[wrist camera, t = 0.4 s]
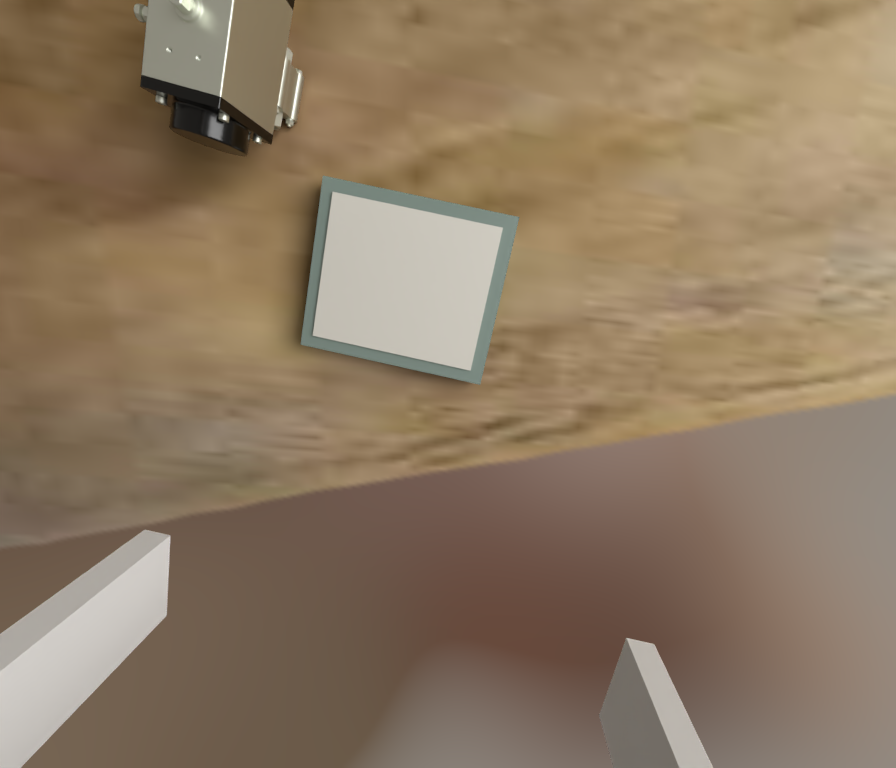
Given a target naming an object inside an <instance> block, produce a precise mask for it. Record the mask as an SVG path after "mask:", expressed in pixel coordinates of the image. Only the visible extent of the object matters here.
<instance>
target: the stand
mask: <svg viewBox="0 0 896 768" xmlns="http://www.w3.org/2000/svg"><path fill="white" fill-rule="evenodd" d="M518 220H519V217H516V216H511V215H507V214H502V213H497V212H492V211H488V210H483V209H478V208H473V207H469V206H464V205H459V204H454V203H450V202H445V201H440V200H435V199H431V198H426V197H421V196H417V195H412V194H407V193H402V192H398V191H393V190H388V189H383V188H379V187H374V186H369V185H364V184H360V183H355V182H350V181H346V180H341V179H336V178H331V177H327V176H323V179H322V187H321V194H320V202H319V209H318V217H317V225H316V232H315V240H314V247H313V255H312V262H311V270H310V277H309V285H308V292H307V300H306V307H305V315H304V322H303V330H302V337H301V345H305V346H309V347H314V348H318V349H323V350H327V351H332V352H336V353H341V354H345V355H350V356H354V357H359V358H363V359H368V360H372V361H376V362H381V363H385V364H390V365H394V366H399V367H403V368H408V369H412V370H417V371H421V372H426V373H430V374H435V375H439V376H444V377H448V378H453V379H457V380H462V381H466V382H471V383H475V384H480V383H481V378H482V374H483V370H484V366H485V361H486V357H487V353H488V348H489V344H490V340H491V336H492V331H493V327H494V323H495V319H496V314H497V310H498V306H499V302H500V297H501V293H502V289H503V284H504V280H505V276H506V272H507V267H508V263H509V259H510V255H511V250H512V246H513V242H514V238H515V233H516V229H517V225H518Z"/></svg>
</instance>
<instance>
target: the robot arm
mask: <svg viewBox="0 0 896 768" xmlns="http://www.w3.org/2000/svg"><path fill="white" fill-rule="evenodd" d="M169 554H170V535H166V534H162V533H157V532H153V531H148V530H144V531H142V532H141V533H140V534H138V535H137V536H135V537H134V538H133V539H131V540H130V541H128V542H127V543H126V544H124V545H123V546H121V547H120V548H119V549H117V550H116V551H114V552H113V553H112V554H110V555H109V556H108V557H106V558H105V559H103V560H102V561H101V562H99V563H98V564H96V565H95V566H94V567H92V568H91V569H90V570H88V571H87V572H85V573H84V574H83V575H81V576H80V577H78V578H77V579H76V580H74V581H73V582H72V583H70V584H69V585H68V586H66V587H65V588H63V589H62V590H60V591H59V592H58V593H56V594H55V595H53V596H52V597H51V598H49V599H48V600H47V601H45V602H44V603H43V604H41V605H40V606H39V607H37V608H36V609H34V610H33V611H31V612H30V613H29V614H27V615H26V616H24V617H23V618H22V619H20V620H19V621H17V622H16V623H15V624H13V625H12V626H11V627H9V628H8V629H7V630H5V631H4V632H2V633H1V634H0V768H21V767H22V766H23V765H24V764H25V763H26V761H27V760H28V759H29V758H30V757H31V756H32V755H33V754H34V753H35V752H36V751H37V750H38V749H39V748H40V747H41V746H42V745H43V744H44V743H45V742H46V740H48V738H50V736H51V735H52V734H53V733H54V732H55V731H56V730H57V729H58V728H59V727H60V726H61V725H62V724H63V723H64V722H65V721H66V720H67V719H68V718H69V717H70V716H71V714H73V713H74V711H75V710H76V709H77V708H78V707H79V706H80V705H81V704H82V703H83V702H84V701H85V700H86V699H87V698H88V697H89V696H90V695H91V694H92V692H94V691H95V690H96V688H97V687H98V686H99V685H100V684H101V683H102V682H103V681H104V680H105V679H106V678H107V677H108V676H109V675H110V674H111V673H112V672H113V671H114V670H115V669H116V667H118V666H119V665H120V664H121V662H122V661H123V660H124V659H125V658H126V657H127V656H128V655H129V654H130V653H131V652H132V651H133V650H134V649H135V648H136V647H137V646H138V645H139V644H140V643H141V642H142V641H143V640H144V638H145V637H146V636H147V635H148V634H149V633H150V632H151V631H152V630H153V629H154V628H155V627H156V626H157V625H158V624H159V623H160V622H161V621H162V620H163V619H164V618H165V617H166V616H167V595H168V575H169ZM599 717H600V721H601V724H602V728H603V731H604V735H605V739H606V743H607V746H608V750H609V754H610V757H611V761H612V765H613V768H713V766H712V764H711V762H710V760H709V758H708V756H707V754H706V752H705V750H704V748H703V746H702V744H701V741H700V739H699V737H698V735H697V733H696V731H695V729H694V727H693V725H692V723H691V721H690V718H689V716H688V714H687V712H686V710H685V708H684V706H683V704H682V702H681V700H680V697H679V695H678V693H677V691H676V689H675V687H674V685H673V683H672V681H671V679H670V677H669V675H668V672H667V671H666V668H665V666H664V664H663V662H662V660H661V658H660V656H659V654H658V652H657V650H656V647H655V645H654V644H651V643H646V642H642V641H638V640H633V639H629V638H626V641H625V643H624V646H623V650H622V653H621V655H620V658H619V660H618V663H617V667H616V669H615V672H614V675H613V678H612V680H611V683H610V686H609V689H608V692H607V695H606V697H605V700H604V703H603V706H602V709H601V712H600V714H599Z"/></svg>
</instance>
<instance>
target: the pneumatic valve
mask: <svg viewBox="0 0 896 768" xmlns="http://www.w3.org/2000/svg"><path fill="white" fill-rule="evenodd" d="M294 1H295V0H148V6H145V5H143V4H135V6H134V13H135V16H136V18H137V19H138V20H139V21H140V22H146V32H145V43H144V53H143V64H142V75H141V85H140V87H142V88H143V89H145V90H147V91H148V92H150V93H152V94H153V95H155V96H156V100H155V101H156V102H157V103H159V104H161V105H164V106H166V105H167V106H169V107H171V117H170V126H169V127H170V129H171V130H172V131H173V132H175V133H177V134H179V135H181V136H183V137H185V138H187V139H190V140H192V141H194V142H197V143H200V144H202V145H205V146H208V147H210V148H213V149H216V150H219V151H223V152H226V153H229V154H233V155H238V156H247V153H248V147H249V140H250V139H253V140H252V141H253V142H255V143H257V144H261V143H262V142H264V143H268V144H272V137H273V131H274V130H280V128H281V123H282V118H283V119H285V120H286V123H285V124H287V126H288V127H290V128H291V126H293V124H294V123H296V122H297V119H298V113H299V107H300V101H301V95H302V89H303V84H304V77H303V76H302V71H300V70H299V69H295V68H294V67H293V66H292V65H291V62H292V56H293V53H292V51H291V50H290V49H289V48H288V47H287V44H288V38H289V32H290V26H291V20H292V13H293V7H294Z"/></svg>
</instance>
